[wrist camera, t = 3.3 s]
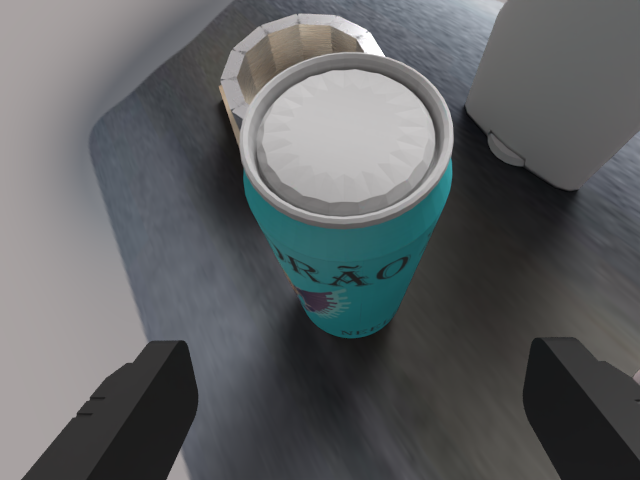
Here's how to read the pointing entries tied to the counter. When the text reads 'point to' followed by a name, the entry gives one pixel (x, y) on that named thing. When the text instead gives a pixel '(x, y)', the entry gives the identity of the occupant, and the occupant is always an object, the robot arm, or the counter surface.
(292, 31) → the collar
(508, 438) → the counter surface
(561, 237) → the counter surface
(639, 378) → the smoothie
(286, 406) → the counter surface
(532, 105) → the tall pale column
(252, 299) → the counter surface
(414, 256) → the beverage can
